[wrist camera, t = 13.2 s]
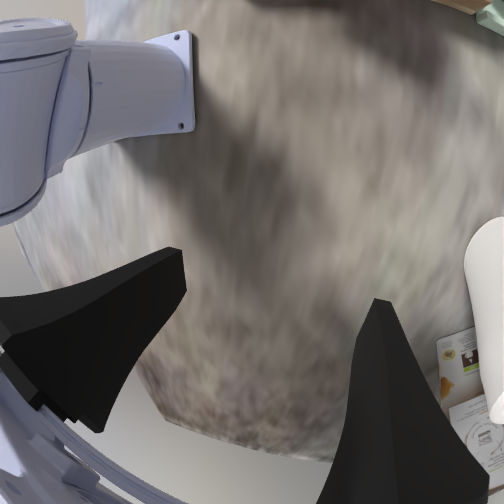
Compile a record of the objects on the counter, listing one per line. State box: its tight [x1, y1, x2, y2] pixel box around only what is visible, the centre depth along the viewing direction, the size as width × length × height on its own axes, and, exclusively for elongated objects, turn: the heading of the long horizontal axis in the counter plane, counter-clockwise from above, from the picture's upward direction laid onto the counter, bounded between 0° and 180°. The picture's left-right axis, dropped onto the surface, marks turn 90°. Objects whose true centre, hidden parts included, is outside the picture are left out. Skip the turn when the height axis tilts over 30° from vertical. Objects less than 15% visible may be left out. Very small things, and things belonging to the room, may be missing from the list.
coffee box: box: [436, 327, 504, 496], centre depth 14 cm, size 9×6×16 cm
